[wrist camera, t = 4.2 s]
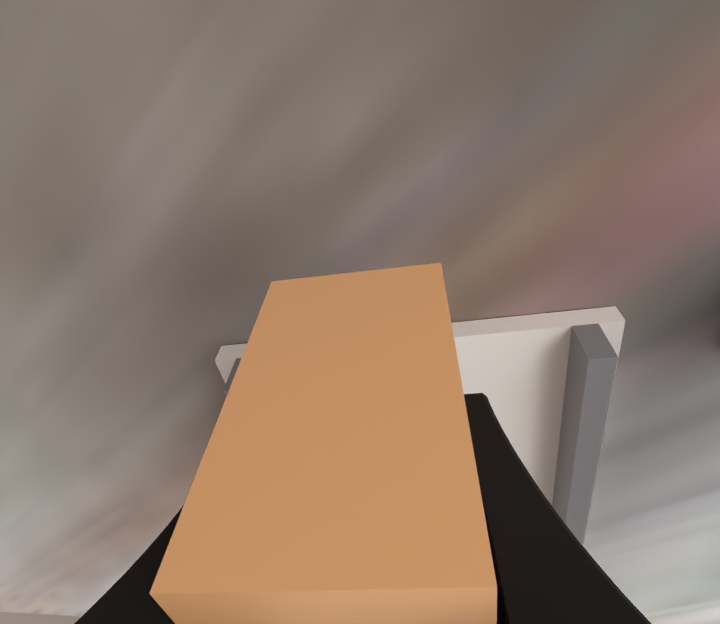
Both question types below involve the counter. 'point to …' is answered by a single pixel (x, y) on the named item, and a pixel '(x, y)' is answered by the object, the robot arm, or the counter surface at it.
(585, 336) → the slot rack
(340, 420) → the orange block
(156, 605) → the robot arm
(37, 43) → the counter surface
